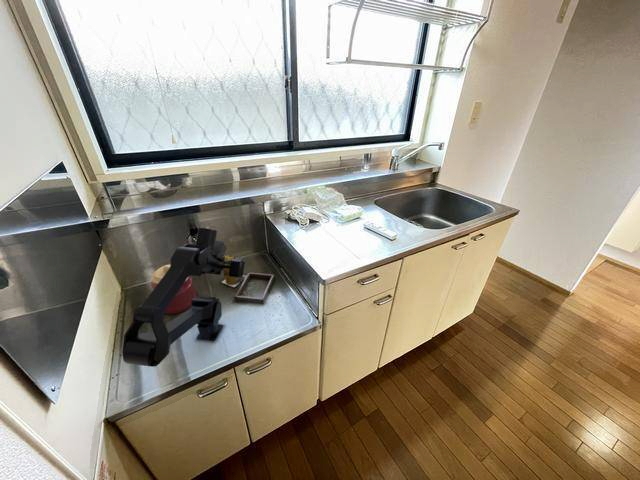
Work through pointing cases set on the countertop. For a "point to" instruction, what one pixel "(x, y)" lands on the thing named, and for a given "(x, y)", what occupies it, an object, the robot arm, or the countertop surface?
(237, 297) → the tray
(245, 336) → the countertop surface
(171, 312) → the kitchen canister
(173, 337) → the robot arm
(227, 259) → the condiment
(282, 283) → the countertop surface
